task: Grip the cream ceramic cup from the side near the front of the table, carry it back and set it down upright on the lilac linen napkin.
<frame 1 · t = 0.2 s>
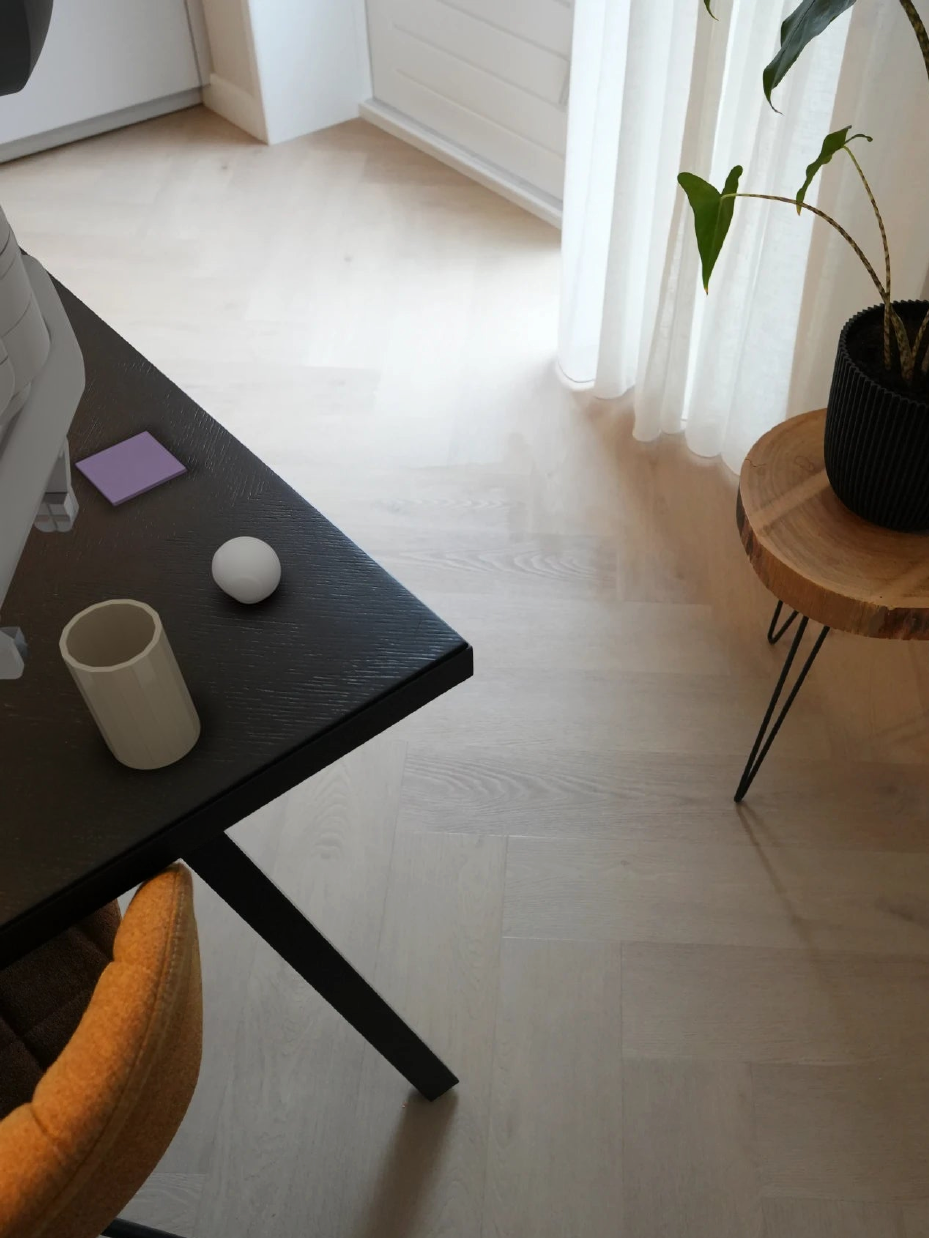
hand: (35, 590, 53), 24 cm above the table, tool pointing down, fingers open, 8 cm apart
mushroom: (254, 596, 86), on the table
napkin: (131, 469, 94), on the table
cup: (155, 733, 77), on the table
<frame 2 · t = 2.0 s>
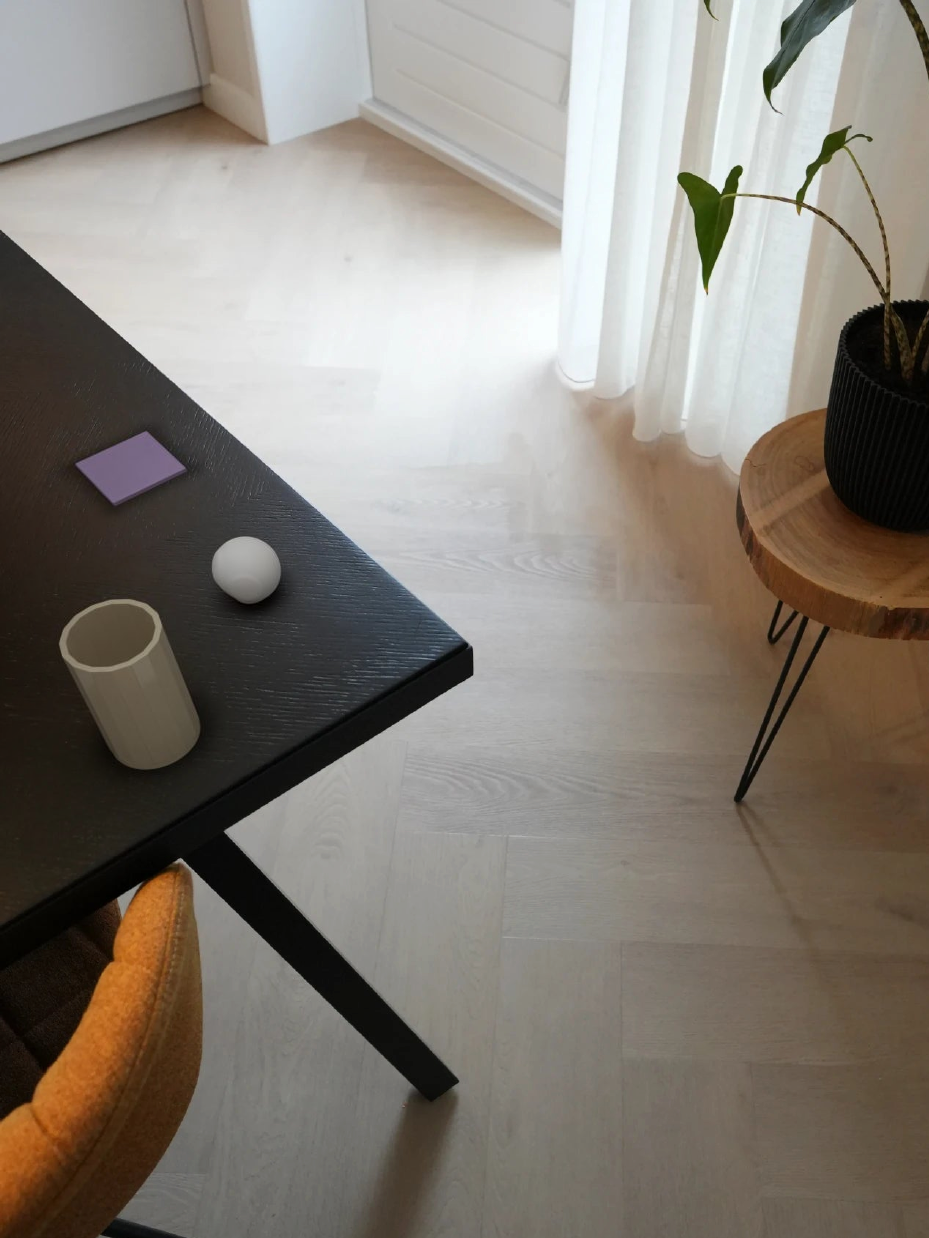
nothing on the table moved.
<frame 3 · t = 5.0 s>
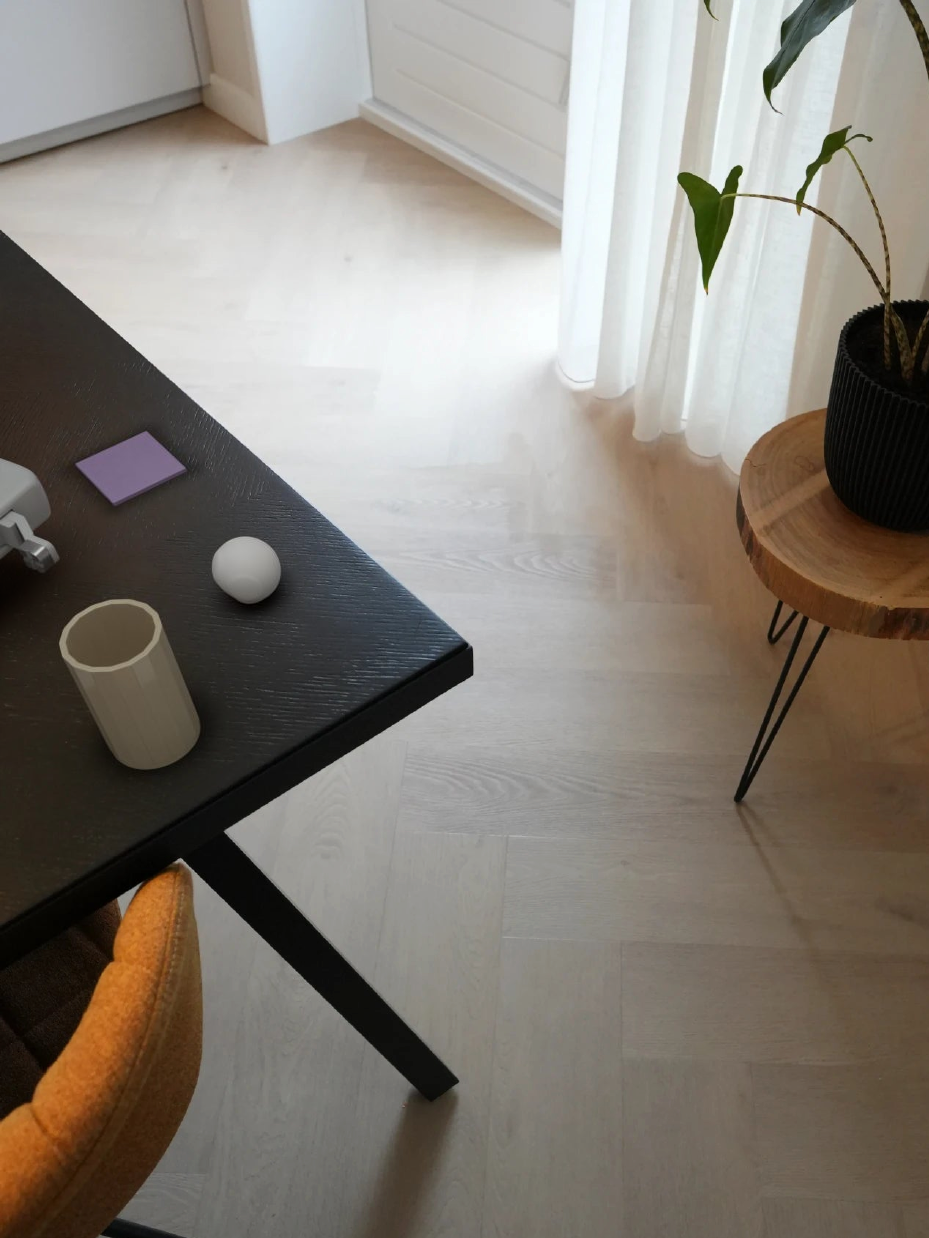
nothing on the table moved.
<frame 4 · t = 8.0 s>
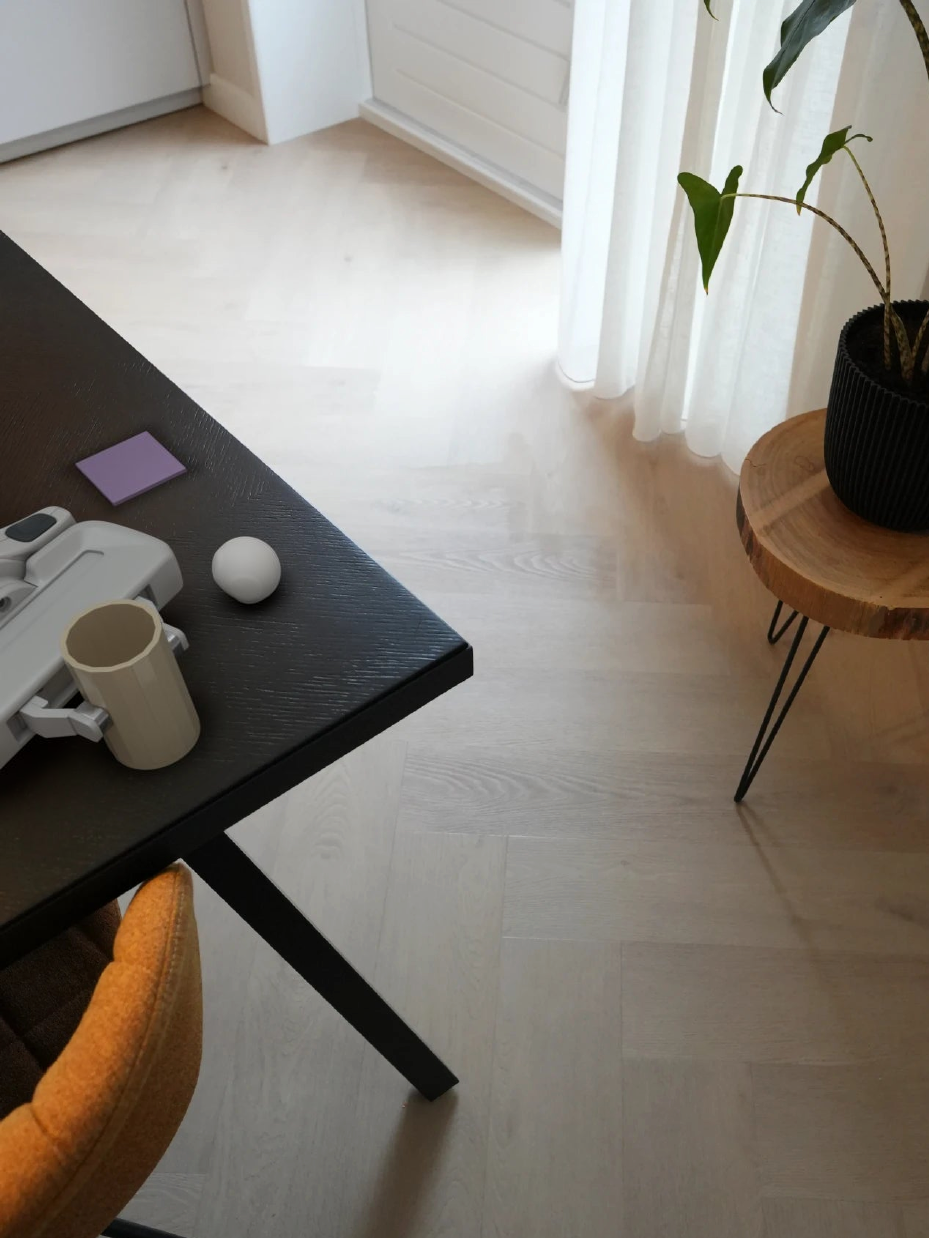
hand: (143, 685, 72), 6 cm above the table, tool horizontal, fingers closed on cup, 6 cm apart
cup: (155, 734, 77), on the table, touching gripper
everything else where it was.
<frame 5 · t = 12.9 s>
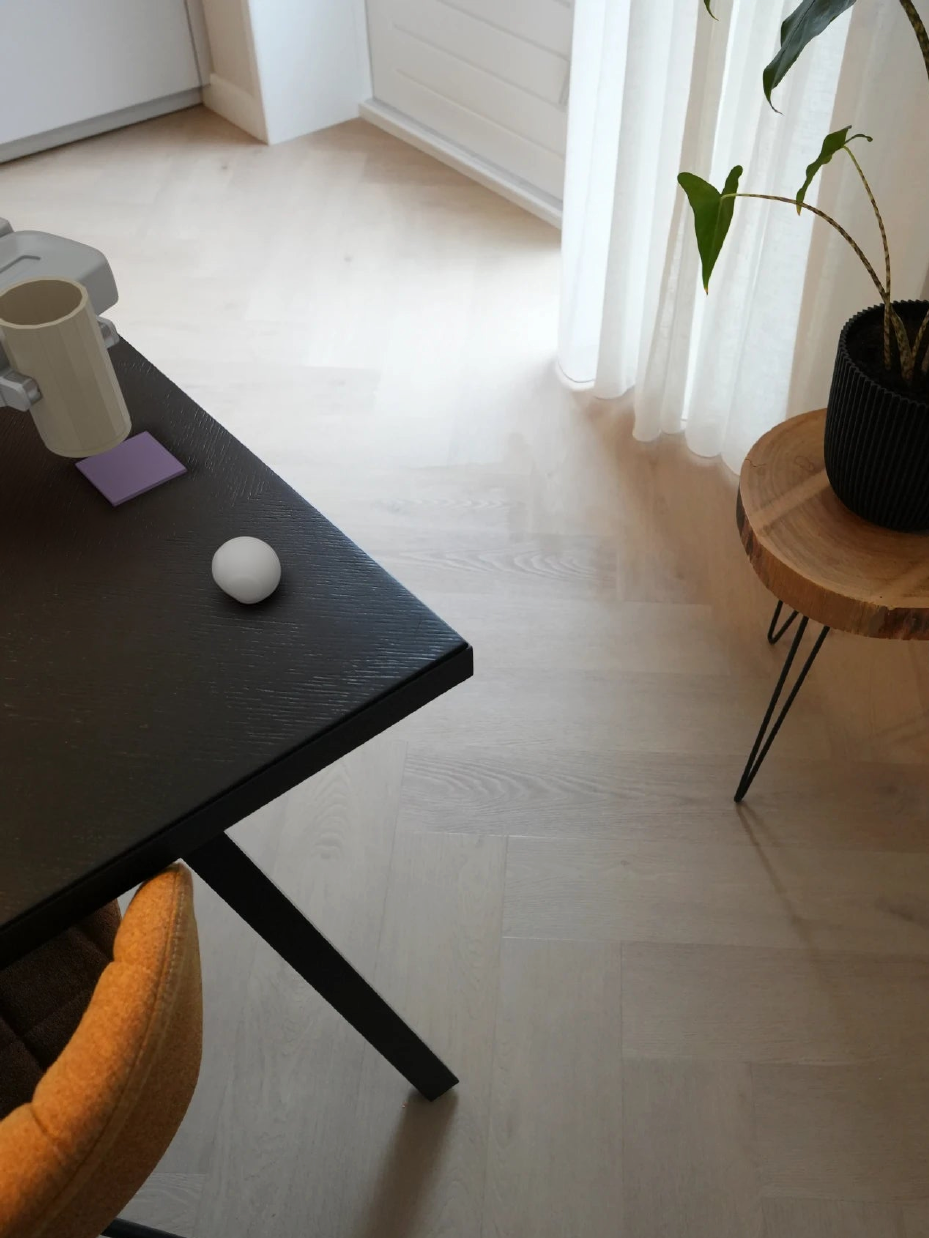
hand: (72, 365, 75), 17 cm above the table, tool horizontal, fingers closed on cup, 6 cm apart
cup: (87, 430, 80), point 11 cm above the table, touching gripper
everything else where it was.
when the fingers open (6 cm above the table, at t = 17.7 s): cup stays where it is, resting on napkin.
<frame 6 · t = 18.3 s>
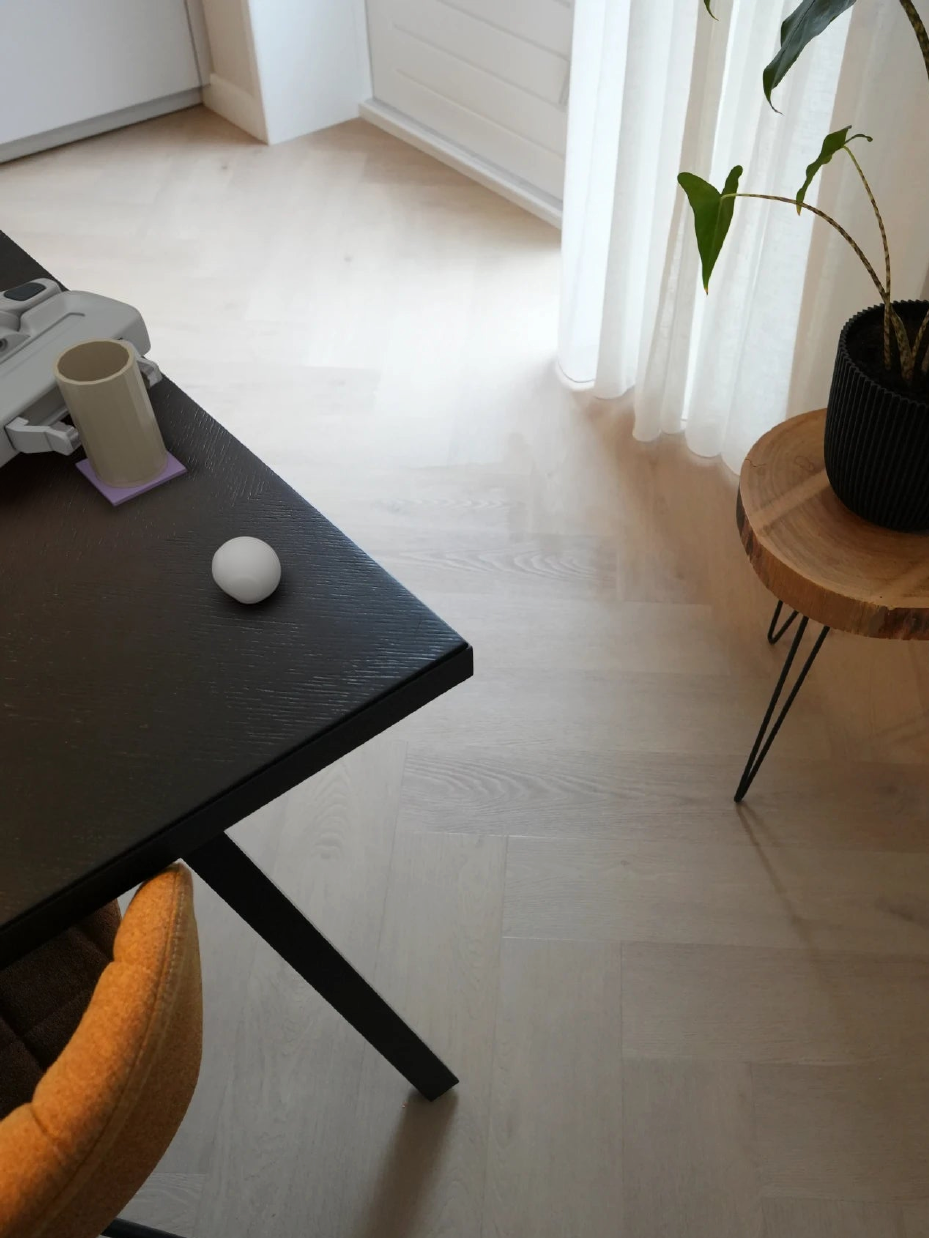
hand: (115, 408, 89), 6 cm above the table, tool horizontal, fingers open, 8 cm apart
cup: (131, 464, 94), resting on napkin
everything else where it was.
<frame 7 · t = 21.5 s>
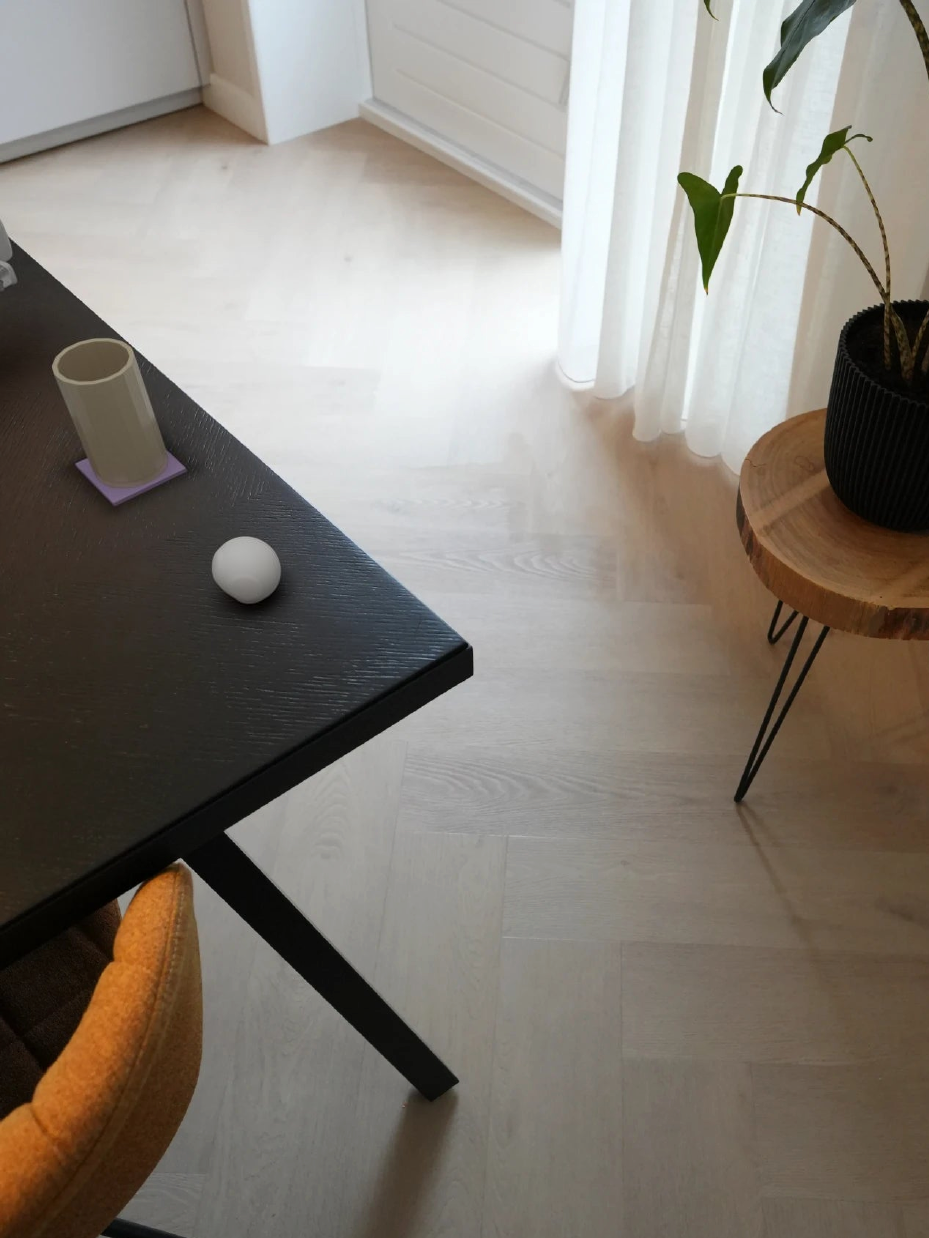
nothing on the table moved.
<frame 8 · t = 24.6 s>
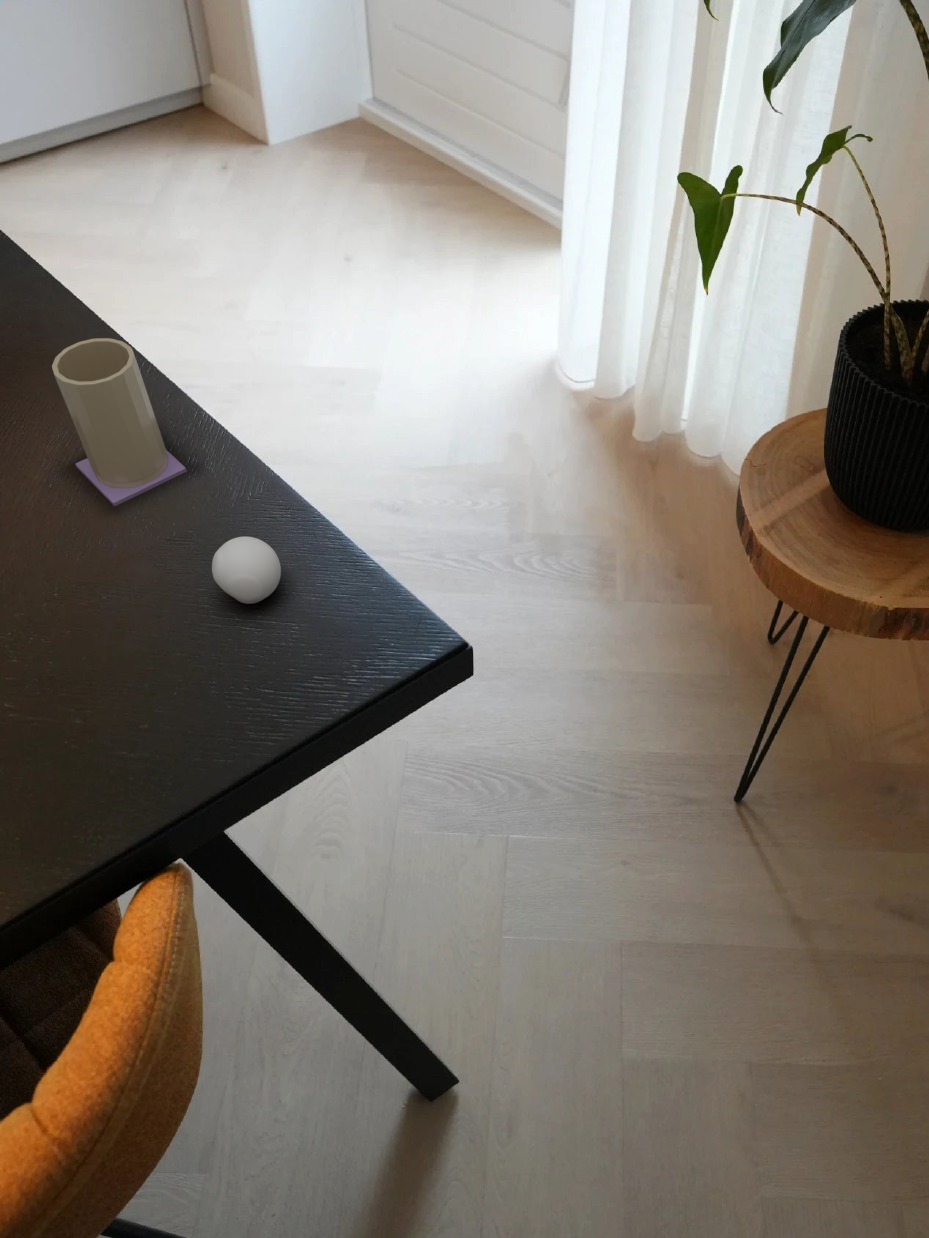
nothing on the table moved.
at the end: cup 0.1 cm off-centre on the napkin, point 0.4 cm above the napkin's base; cup tilted 0°; the gripper is holding nothing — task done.
